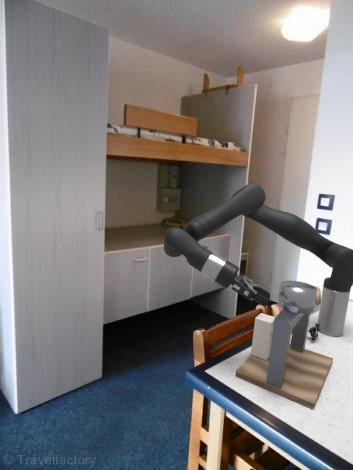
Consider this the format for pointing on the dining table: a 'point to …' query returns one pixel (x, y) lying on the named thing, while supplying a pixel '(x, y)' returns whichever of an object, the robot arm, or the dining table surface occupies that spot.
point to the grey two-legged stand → (289, 327)
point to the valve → (314, 331)
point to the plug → (262, 336)
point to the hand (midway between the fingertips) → (268, 300)
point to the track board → (291, 375)
